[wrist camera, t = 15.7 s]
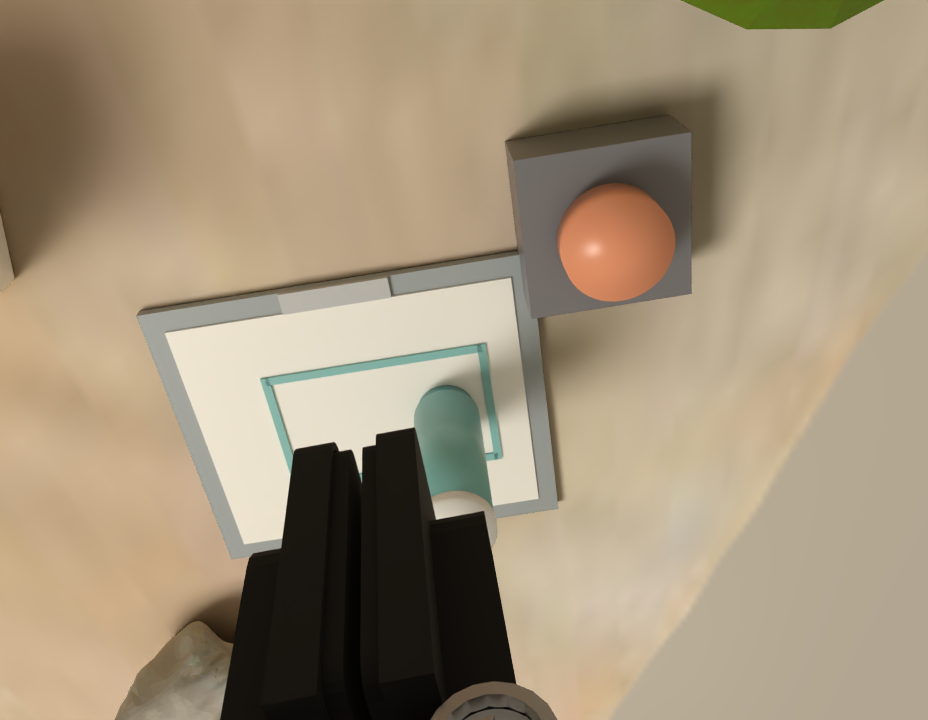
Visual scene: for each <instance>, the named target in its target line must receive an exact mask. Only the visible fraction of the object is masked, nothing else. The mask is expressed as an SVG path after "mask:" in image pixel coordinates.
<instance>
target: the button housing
mask: <svg viewBox="0 0 928 720" xmlns="http://www.w3.org/2000/svg"><path fill="white" fill-rule="evenodd" d="M505 146H506V155H507V163H508V172H509V180H510V188H511V197H512V205H513V214H514V222H515V231H516V239H517V248H518V253H519V257H520V266H521V274H522V283H523V291H524V297H525V300H526V303H527V306H528V310H529V313H530V316H531V319H535V318H542V317H548V316H554V315H561V314H567V313H573V312H579V311H586V310H592V309H598V308H605V307H611V306H617V305H624V304H630V303H636V302H643V301H649V300H655V299H662V298H668V297H674V296H680V295H687V294H692V289H691V132H690V131H689V130H688V129H687V128H685V127H684V126H683V125H682V124H680V123H679V122H678V121H676V120H675V119H674V118H673V117H671V116H670V115H665V116H659V117H652V118H646V119H640V120H634V121H628V122H622V123H615V124H609V125H603V126H597V127H591V128H584V129H578V130H572V131H566V132H560V133H554V134H547V135H541V136H535V137H529V138H523V139H517V140H510V141H505ZM610 183H623V184H629V185H632V186H636V187H638V188H640V189H642V190H643V191H645V192H646V193H648V194H649V195H650V196H651V197H652V198H653V199H654V200H655V201H656V202H657V204H658V205H659V206H660V207H661V208H662V209H663V211H664V212H665V213H666V214H667V216H668V217H669V219H670V221H671V223H672V226H673V228H674V233H675V251H674V256H673V259H672V262H671V264H670V266H669V268H668V270H667V271H666V273H665V274H664V276H663V277H662V278H661V279H660V280H659V281H658V282H657V283H656V284H655V285H654V286H653V287H652V288H650V289H649V290H648V291H646V292H644V293H643V294H641V295H639V296H637V297H634V298H631V299H628V300H623V301H615V302H613V301H601V300H598V299H594V298H592V297H589V296H587V295H586V294H584V293H582V292H581V291H580V290H579V289H577V288H576V287H575V285H574V284H573V283H572V282H571V280H570V279H569V277H568V275H567V273H566V271H565V268H564V266H563V264H562V262H561V259H560V257H559V254H558V250H557V231H558V227H559V224H560V221H561V219H562V217H563V215H564V213H565V211H566V210H567V209H568V207H569V206H570V205H571V204H572V203H573V201H574V200H576V199H577V198H578V197H579V196H580V195H582V194H583V193H585V192H586V191H588V190H590V189H592V188H594V187H597V186H600V185H604V184H610Z"/></svg>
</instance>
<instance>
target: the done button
mask: <svg viewBox="0 0 928 720" xmlns="http://www.w3.org/2000/svg"><path fill="white" fill-rule="evenodd" d="M557 250H558V254H559V257H560V259H561V262H562V264H563V266H564V268H565V271H566V273H567V275H568V277H569V279H570V280H571V282H572V283H573V284H574V285H575V287H576V288H577V289H579V290H580V291H581V292H582V293H584V294H586V295H587V296H589V297H592V298H594V299H598V300H601V301H613V302H615V301H623V300H628V299H631V298H634V297H637V296H639V295H641V294H643V293H644V292H646V291H648V290H649V289H650V288H652V287H653V286H654V285H655V284H656V283H657V282H658V281H659V280H660V279H661V278H662V277H663V276H664V274H665V273H666V271H667V270H668V268H669V266H670V264H671V262H672V259H673V256H674V251H675V233H674V228H673V226H672V223H671V221H670V219H669V217H668V216H667V214H666V213H665V212H664V211H663V209H662V208H661V207H660V206H659V205H658V204H657V202H656V201H655V200H654V199H653V198H652V197H651V196H650V195H649V194H648V193H646V192H645V191H643V190H642V189H640V188H638V187H636V186H632V185H629V184H623V183H610V184H604V185H600V186H597V187H594V188H592V189H590V190H588V191H586V192H585V193H583V194H582V195H580V196H579V197H578V198H577V199H576V200H574V201H573V203H572V204H571V205H570V206H569V207H568V209H567V210H566V211H565V213H564V215H563V217H562V219H561V221H560V224H559V227H558V231H557Z"/></svg>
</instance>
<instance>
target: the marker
mask: <svg viewBox="0 0 928 720" xmlns="http://www.w3.org/2000/svg"><path fill="white" fill-rule="evenodd" d="M414 427H415V429H416V433H417V437H418V441H419V445H420V450H421V454H422V459H423V463H424V468H425V472H426V477H427V481H428V485H429V490H430V494H431V499H432V503H433V508H434V512H435V517H436V520H437V519H442V518H448V517H453V516H459V515H464V514H470V513H475V512H480V511H484V512H485V518H486V523H487V528H488V534H489V539H490V545H491V548H492V546H493V545H494V543H495V541H496V538H497V523H496V516H495V513H494V510H493V504H492V497H491V490H490V483H489V476H488V469H487V462H486V455H485V448H484V441H483V434H482V428H481V421H480V414H479V409H478V407H477V405H476V403H475V402H474V400H473V399H472V398H471V396H470V395H469V394H468V393H467V392H466V391H465V390H463V389H461V388H459V387H457V386H452V385H442V386H437V387H434V388H432V389H430V390H429V391H427V392H426V393H425V394H424V395H423V396H422V398H421V400H420V402H419V404H418V405H417V407H416V409H415V413H414Z"/></svg>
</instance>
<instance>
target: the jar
mask: <svg viewBox="0 0 928 720" xmlns="http://www.w3.org/2000/svg"><path fill="white" fill-rule="evenodd" d="M13 281H14V273H13V268H12V264H11V259H10V255H9V250H8V246H7V241H6V236H5V232H4V227H3V223H2V218H1V214H0V294H1V293H2V292H3V291H4V290H5V289H6V288H7V287H8V286H9V285H10V284H11V283H12V282H13Z"/></svg>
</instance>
